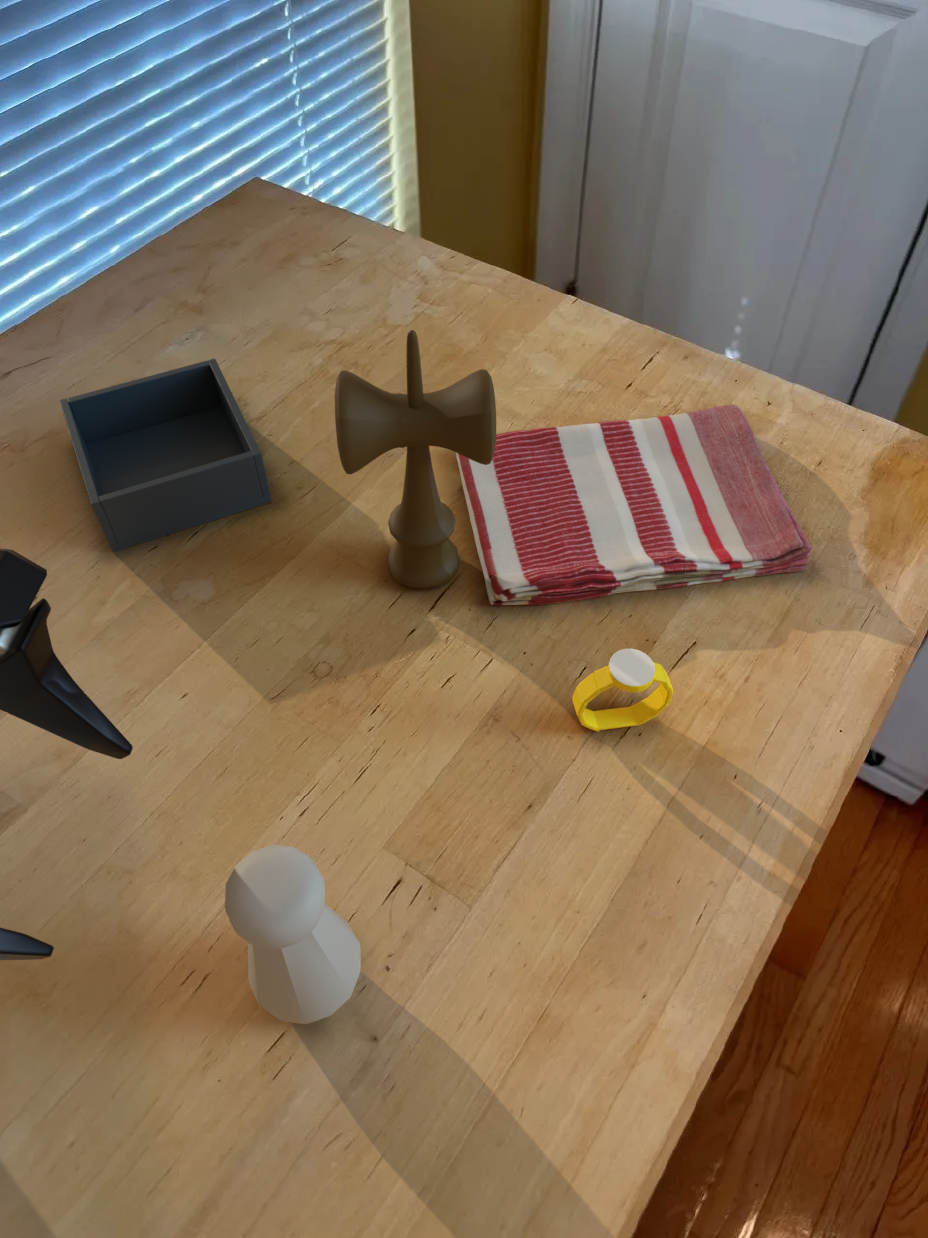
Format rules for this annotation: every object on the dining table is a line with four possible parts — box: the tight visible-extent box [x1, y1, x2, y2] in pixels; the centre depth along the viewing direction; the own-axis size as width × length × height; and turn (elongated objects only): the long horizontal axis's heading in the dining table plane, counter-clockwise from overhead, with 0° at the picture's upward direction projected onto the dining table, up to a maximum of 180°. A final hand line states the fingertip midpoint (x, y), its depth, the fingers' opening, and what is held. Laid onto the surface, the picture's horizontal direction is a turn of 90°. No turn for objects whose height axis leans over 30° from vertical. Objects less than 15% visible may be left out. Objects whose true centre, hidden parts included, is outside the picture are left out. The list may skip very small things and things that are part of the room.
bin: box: [59, 357, 273, 553], centre depth 72 cm, size 12×12×5 cm
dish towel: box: [454, 404, 813, 606], centre depth 70 cm, size 17×23×3 cm
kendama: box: [334, 329, 497, 589], centre depth 60 cm, size 6×10×20 cm, turn 93°
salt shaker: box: [224, 844, 362, 1025], centre depth 45 cm, size 6×6×13 cm
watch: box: [571, 648, 674, 733], centre depth 58 cm, size 6×3×6 cm, turn 101°
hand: (90, 846), depth 40 cm, fingers open, 9 cm apart
